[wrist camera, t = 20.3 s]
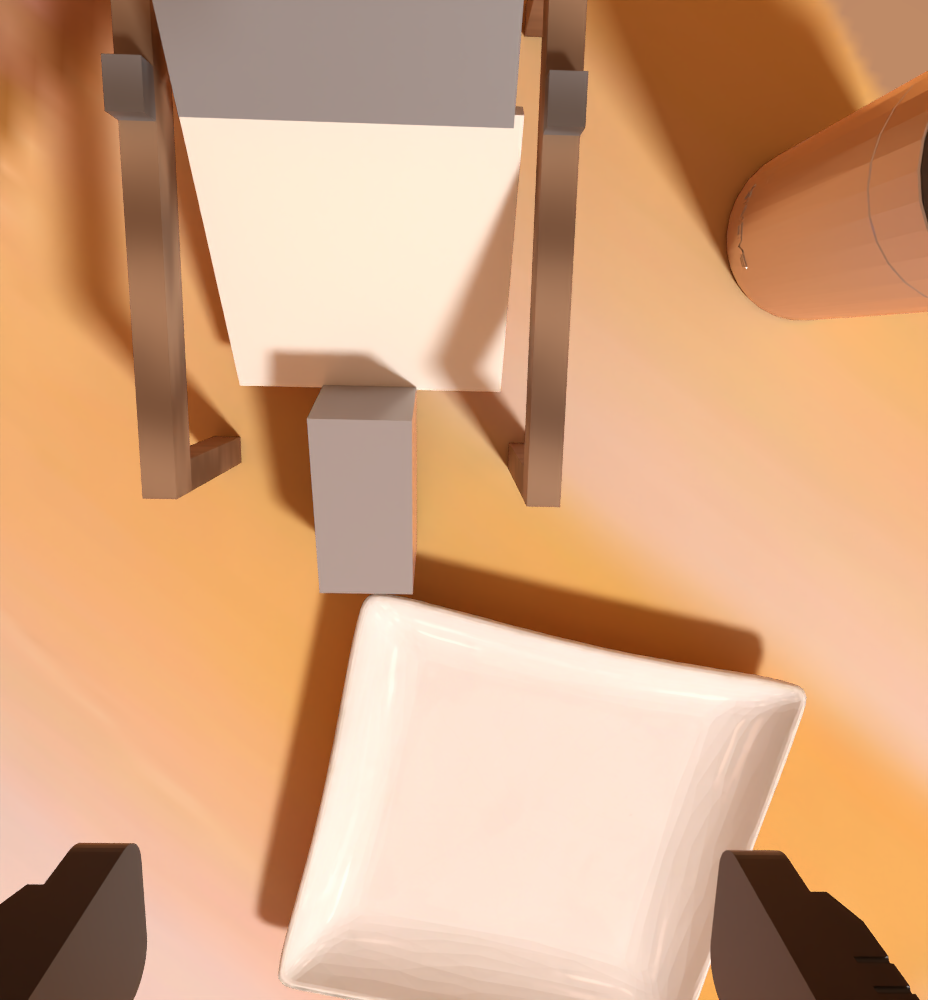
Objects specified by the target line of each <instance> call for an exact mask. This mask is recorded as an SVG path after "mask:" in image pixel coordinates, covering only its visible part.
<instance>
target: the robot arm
mask: <svg viewBox="0 0 928 1000" xmlns="http://www.w3.org/2000/svg"><path fill="white" fill-rule="evenodd" d="M727 253H728V258H729V263H730V268H731V270H732V272H733V275H734V277H735V279H736V281H737V284H738V285H739V286H740V288H741V289H742V290H743V292H744V293H745V294H746V296H747V297H748V298H749V299H750V300H751V301H752V302H754V303H755V304H756V305H757V306H758V307H760V308H761V309H763V310H765V311H767V312H769V313H771V314H773V315H775V316H778V317H782V318H786V319H790V320H818V319H832V318H850V317H864V316H877V315H891V314H904V313H918V312H928V71H926V72H924V73H922V74H921V75H919V76H917V77H915V78H914V79H912V80H910V81H909V82H907V83H905V84H903V85H901V86H900V87H898V88H896V89H894V90H893V91H891V92H889V93H887V94H886V95H884V96H882V97H880V98H879V99H877V100H875V101H873V102H872V103H870V104H868V105H866V106H864V107H863V108H861V109H859V110H857V111H856V112H854V113H852V114H850V115H849V116H847V117H845V118H843V119H842V120H840V121H838V122H836V123H835V124H833V125H831V126H829V127H828V128H826V129H824V130H822V131H821V132H819V133H817V134H815V135H814V136H811V137H810V138H808V139H806V140H804V141H803V142H801V143H799V144H797V145H796V146H794V147H792V148H790V149H789V150H787V151H785V152H784V153H782V154H780V155H778V156H777V157H775V158H774V159H772V160H771V161H769V162H768V163H766V164H765V165H764V166H762V167H761V168H760V169H759V170H758V171H757V172H756V173H755V174H754V175H753V176H752V177H751V178H750V179H749V180H748V181H747V183H746V184H745V186H744V188H743V189H742V191H741V192H740V194H739V195H738V197H737V199H736V202H735V204H734V207H733V209H732V212H731V214H730V219H729V224H728V229H727ZM146 951H147V932H146V918H145V904H144V890H143V876H142V862H141V854H140V850H139V848H138V846H137V845H136V844H134V843H78V844H76V845H74V846H73V847H72V848H71V849H70V850H69V852H68V853H67V854H66V856H65V857H64V858H63V860H62V861H61V862H60V864H59V865H58V866H57V868H56V869H55V870H54V872H53V873H52V874H51V876H50V877H49V878H48V880H47V881H46V882H45V884H44V885H29V884H27V885H26V886H24V887H23V888H22V889H20V890H19V891H18V892H16V893H15V894H13V895H12V896H11V897H9V898H8V899H7V900H5V901H4V902H3V903H1V904H0V1000H133V999H134V997H135V995H136V993H137V990H138V987H139V984H140V981H141V978H142V974H143V970H144V965H145V959H146ZM710 957H711V968H712V974H713V980H714V984H715V988H716V992H717V995H718V998H719V1000H919V998H918V997H917V995H916V994H912V993H911V991H910V986H909V984H908V983H907V982H906V980H905V979H904V977H903V976H902V975H901V973H900V972H899V971H898V969H897V968H896V966H895V965H894V964H890V962H889V959H888V955H887V954H886V953H885V951H884V950H883V948H882V947H881V946H880V944H879V943H878V941H877V940H876V939H875V937H874V936H873V935H872V933H871V932H870V930H869V929H868V928H867V926H866V925H865V923H864V922H863V921H862V920H861V919H859V918H858V917H857V916H856V915H854V914H853V913H852V912H851V911H850V910H848V909H847V908H846V907H845V906H843V905H842V904H841V903H840V902H838V901H837V900H836V899H835V898H833V897H832V896H831V895H830V894H829V893H827V892H810V891H809V889H808V888H807V886H806V885H805V883H804V882H803V880H802V879H801V877H800V876H799V874H798V873H797V871H796V870H795V868H794V867H793V865H792V864H791V862H790V861H789V859H788V858H787V857H786V855H785V854H784V853H783V852H781V851H770V850H726V851H724V852H723V853H722V855H721V858H720V862H719V869H718V878H717V888H716V897H715V906H714V915H713V924H712V933H711V943H710Z"/></svg>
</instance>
